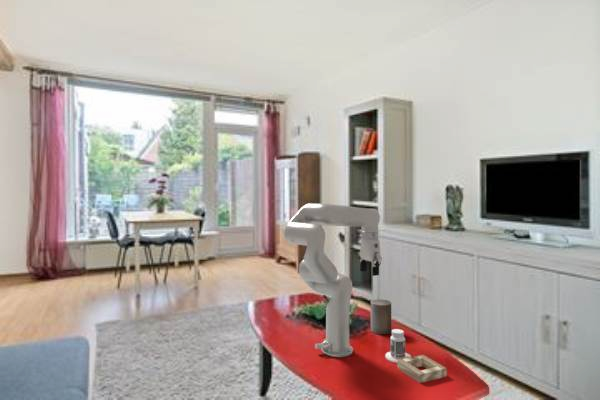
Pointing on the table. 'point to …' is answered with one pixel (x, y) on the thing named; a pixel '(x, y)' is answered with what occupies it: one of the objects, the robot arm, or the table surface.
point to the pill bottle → (397, 344)
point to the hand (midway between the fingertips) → (369, 273)
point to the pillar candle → (381, 316)
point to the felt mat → (395, 360)
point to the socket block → (428, 374)
